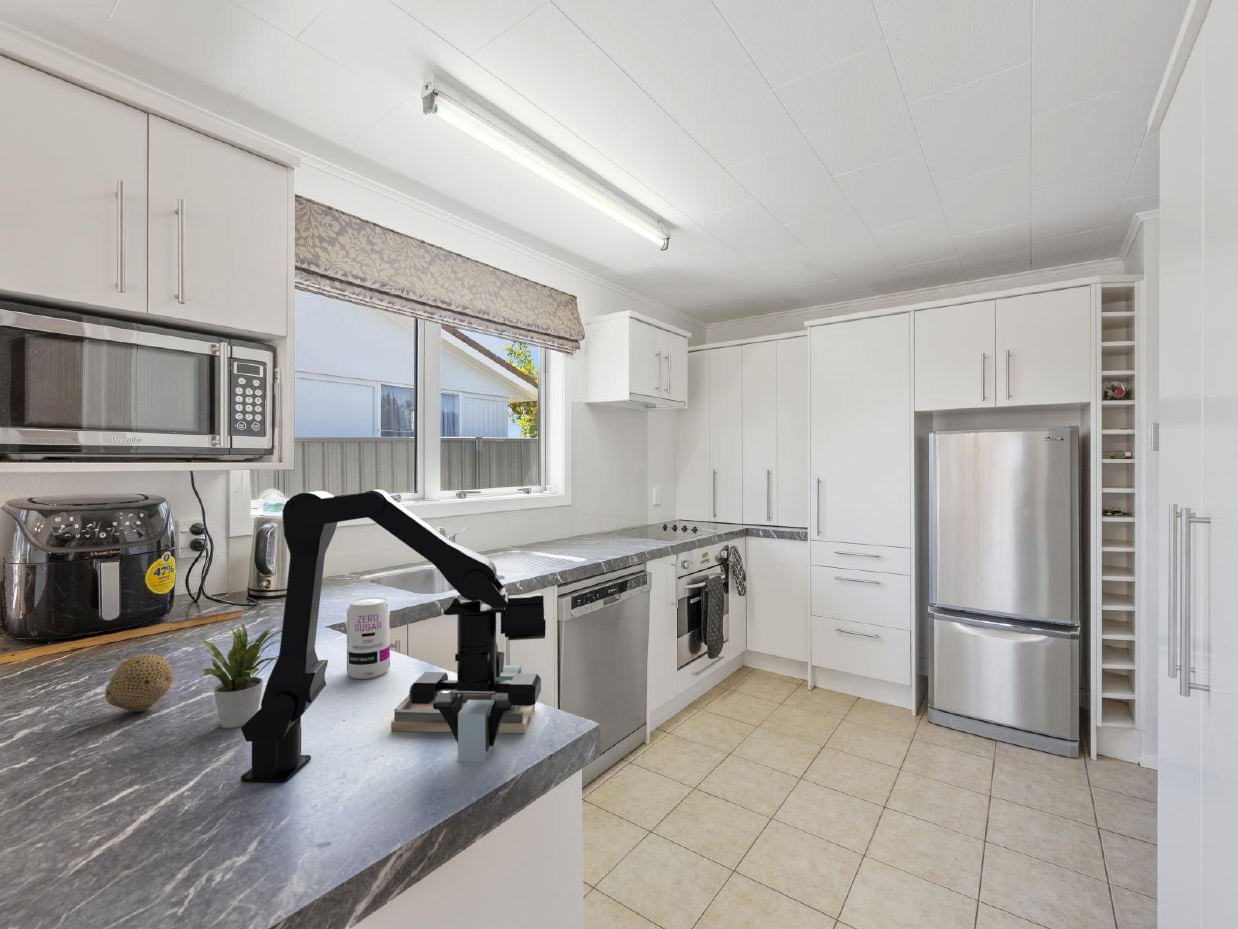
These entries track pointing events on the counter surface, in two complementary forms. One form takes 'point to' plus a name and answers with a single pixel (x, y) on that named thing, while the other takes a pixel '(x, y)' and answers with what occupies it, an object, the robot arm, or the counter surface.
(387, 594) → the counter surface
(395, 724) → the rail plate
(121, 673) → the natural sponge
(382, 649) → the supplement can
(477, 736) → the block
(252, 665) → the house plant
